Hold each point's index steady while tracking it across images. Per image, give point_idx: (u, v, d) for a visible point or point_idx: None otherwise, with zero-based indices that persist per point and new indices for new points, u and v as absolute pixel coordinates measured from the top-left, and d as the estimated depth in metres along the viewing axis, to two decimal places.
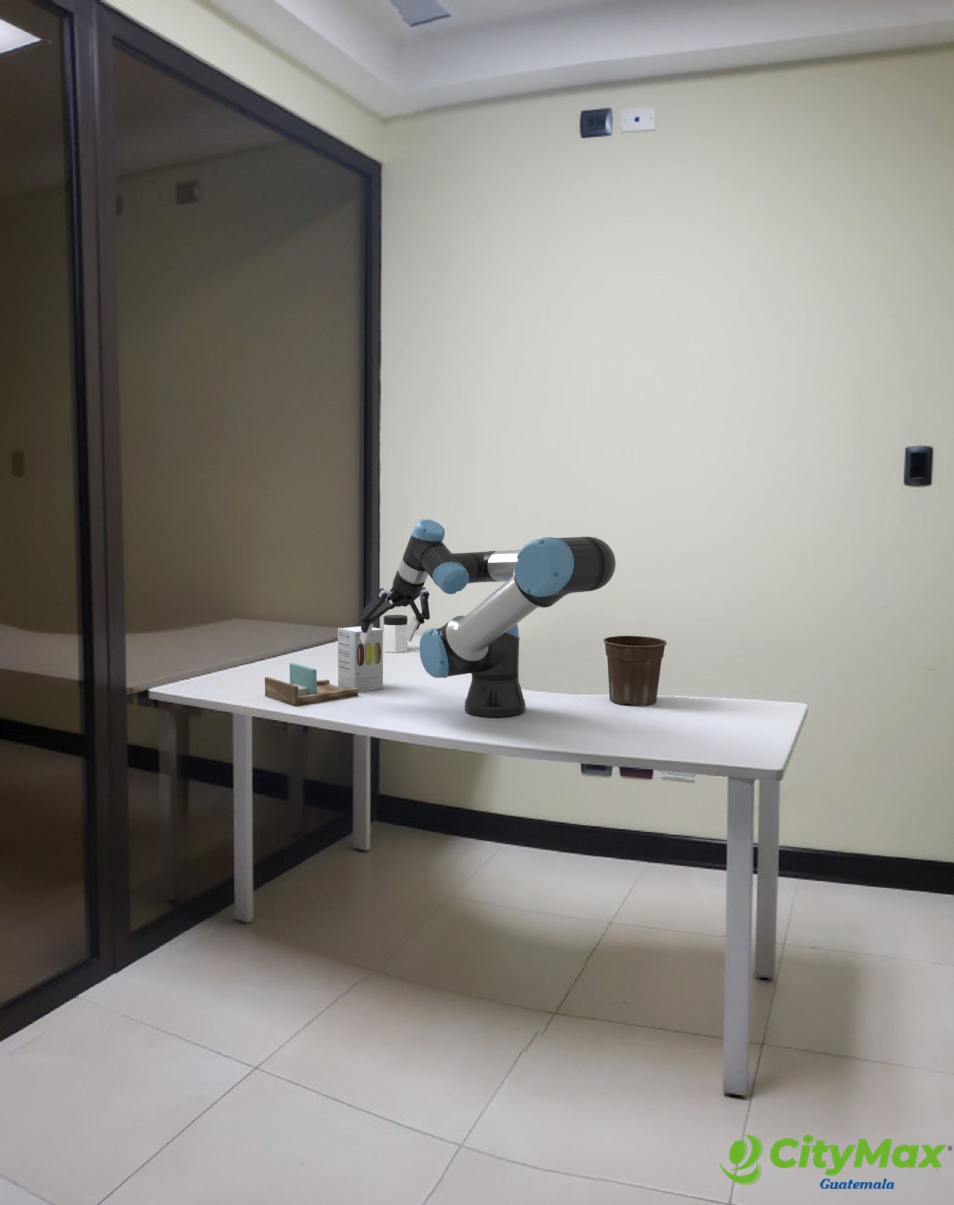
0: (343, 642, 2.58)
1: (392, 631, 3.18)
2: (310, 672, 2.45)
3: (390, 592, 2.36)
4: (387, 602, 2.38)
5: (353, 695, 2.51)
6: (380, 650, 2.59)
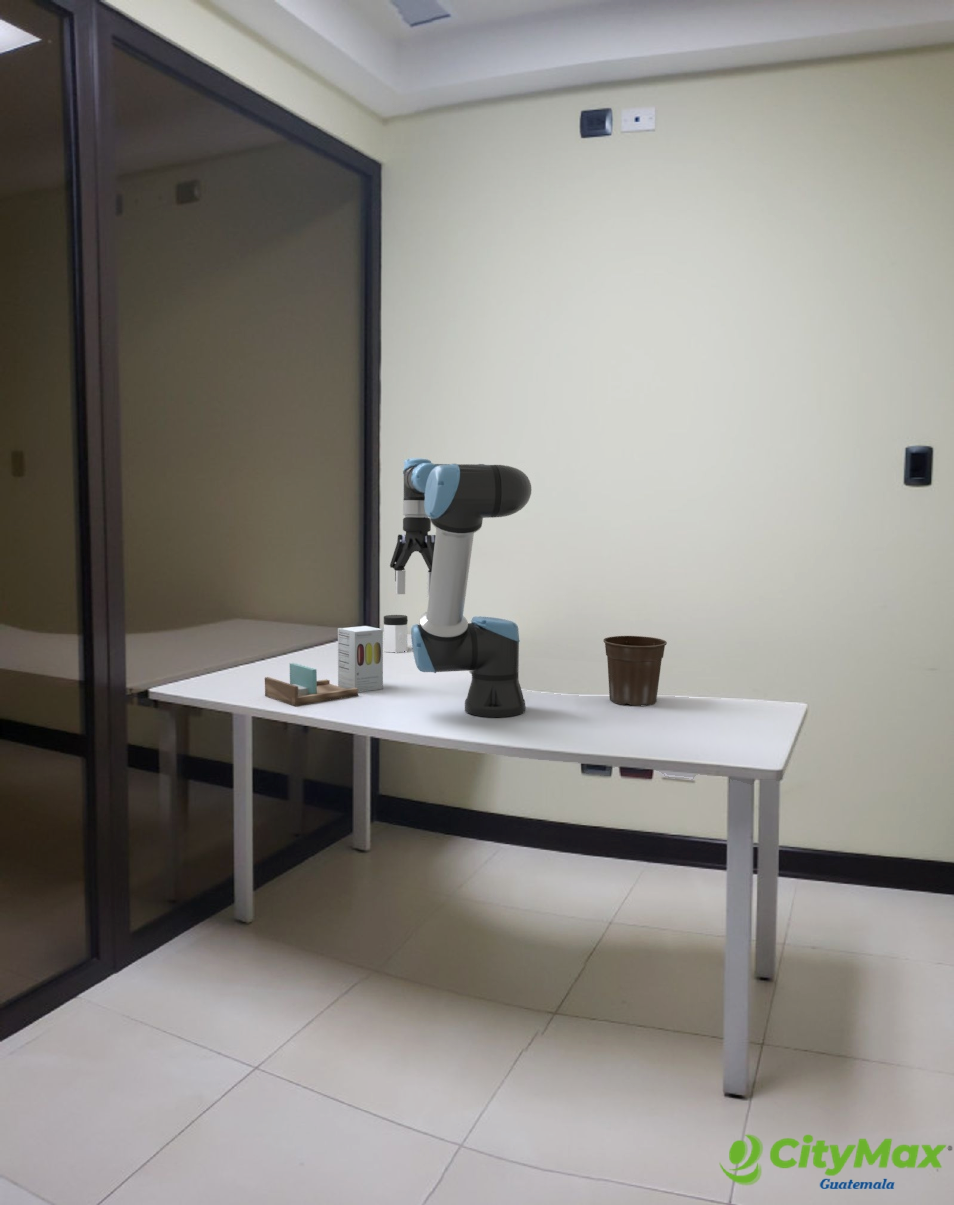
0: (343, 642, 2.58)
1: (392, 631, 3.18)
2: (310, 672, 2.45)
3: None
4: None
5: (353, 695, 2.51)
6: (380, 650, 2.59)
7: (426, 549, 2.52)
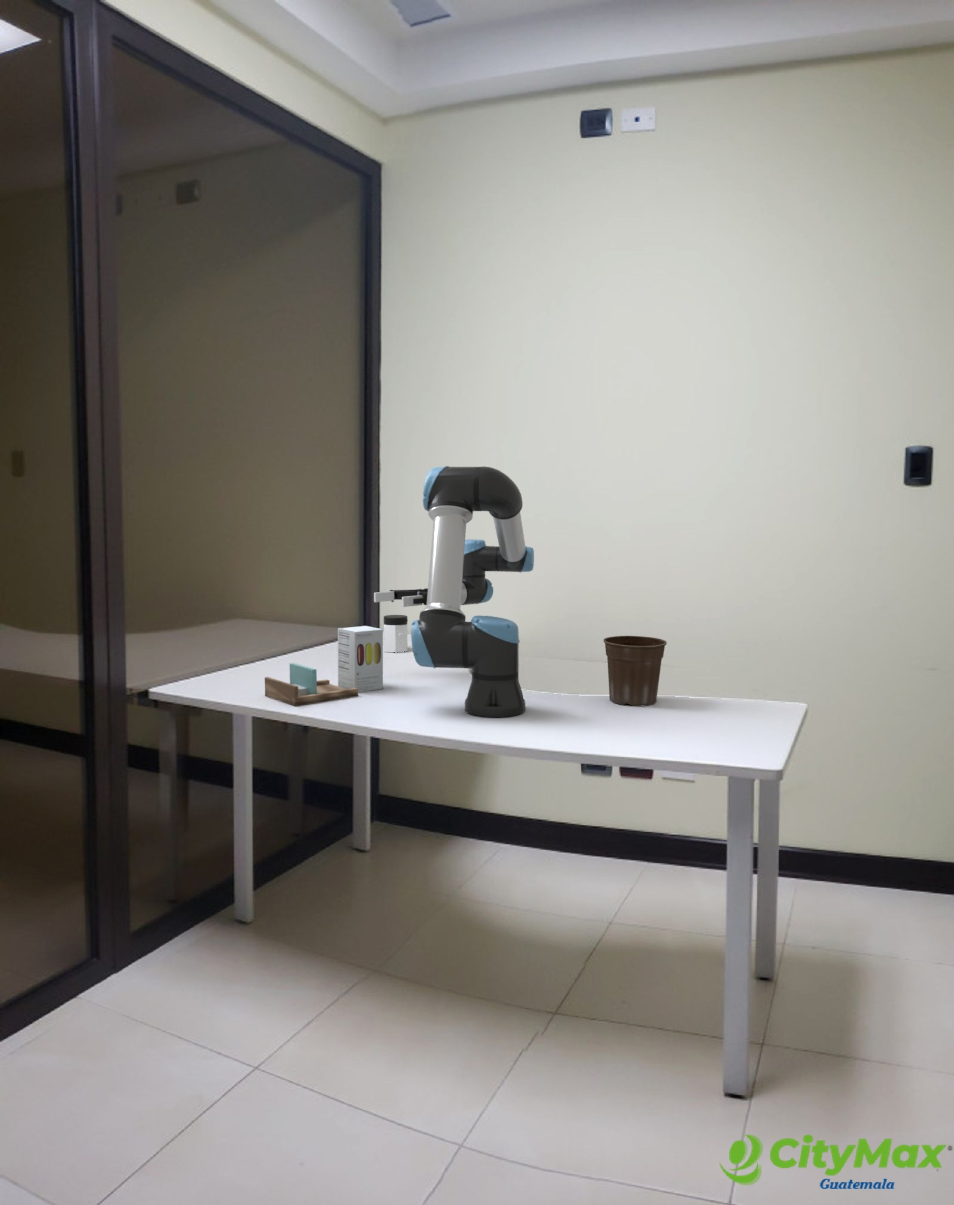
0: (343, 642, 2.58)
1: (392, 631, 3.18)
2: (310, 672, 2.45)
3: None
4: None
5: (353, 695, 2.51)
6: (380, 650, 2.59)
7: None
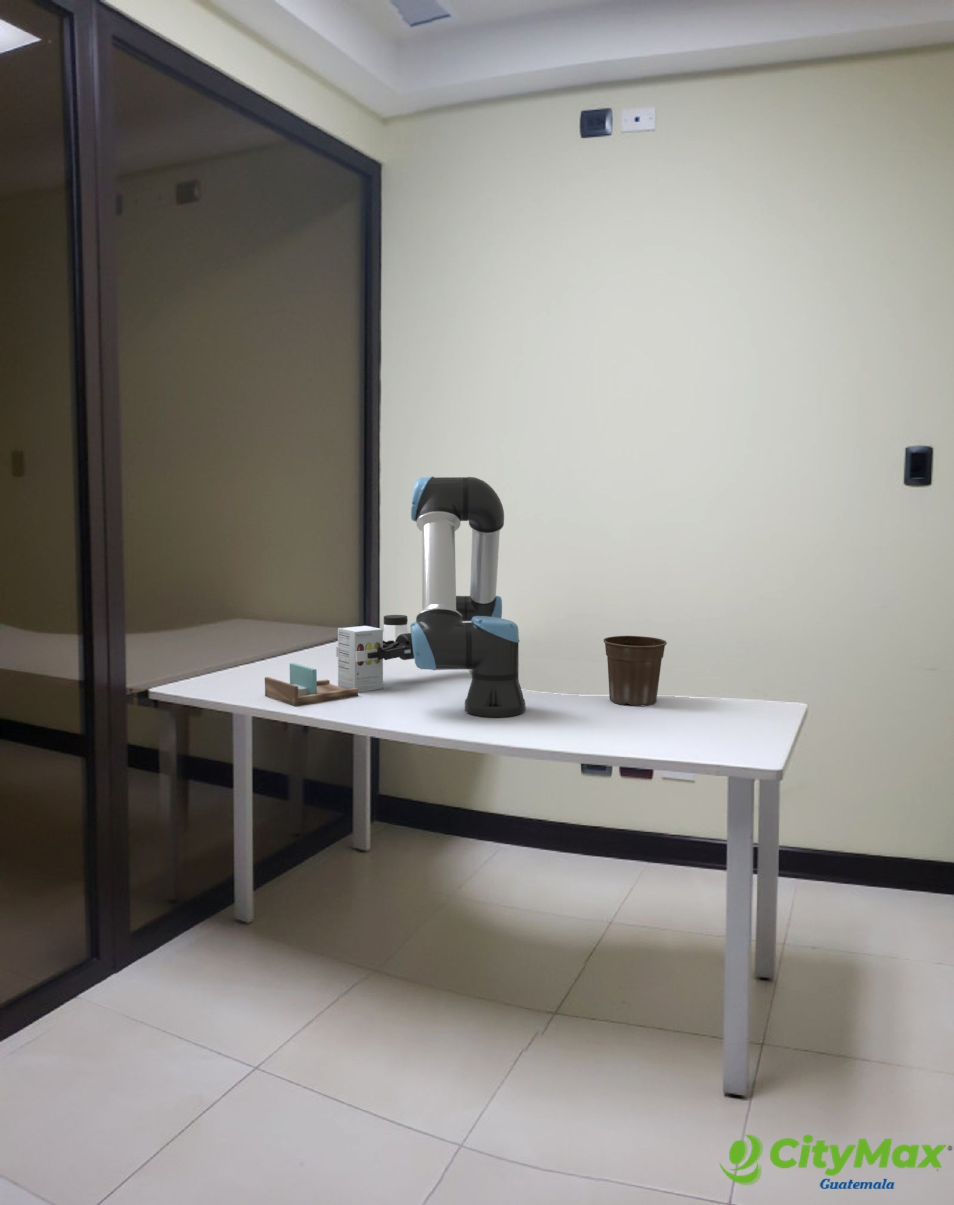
0: (343, 642, 2.58)
1: (392, 631, 3.18)
2: (310, 672, 2.45)
3: None
4: None
5: (353, 695, 2.51)
6: None
7: None
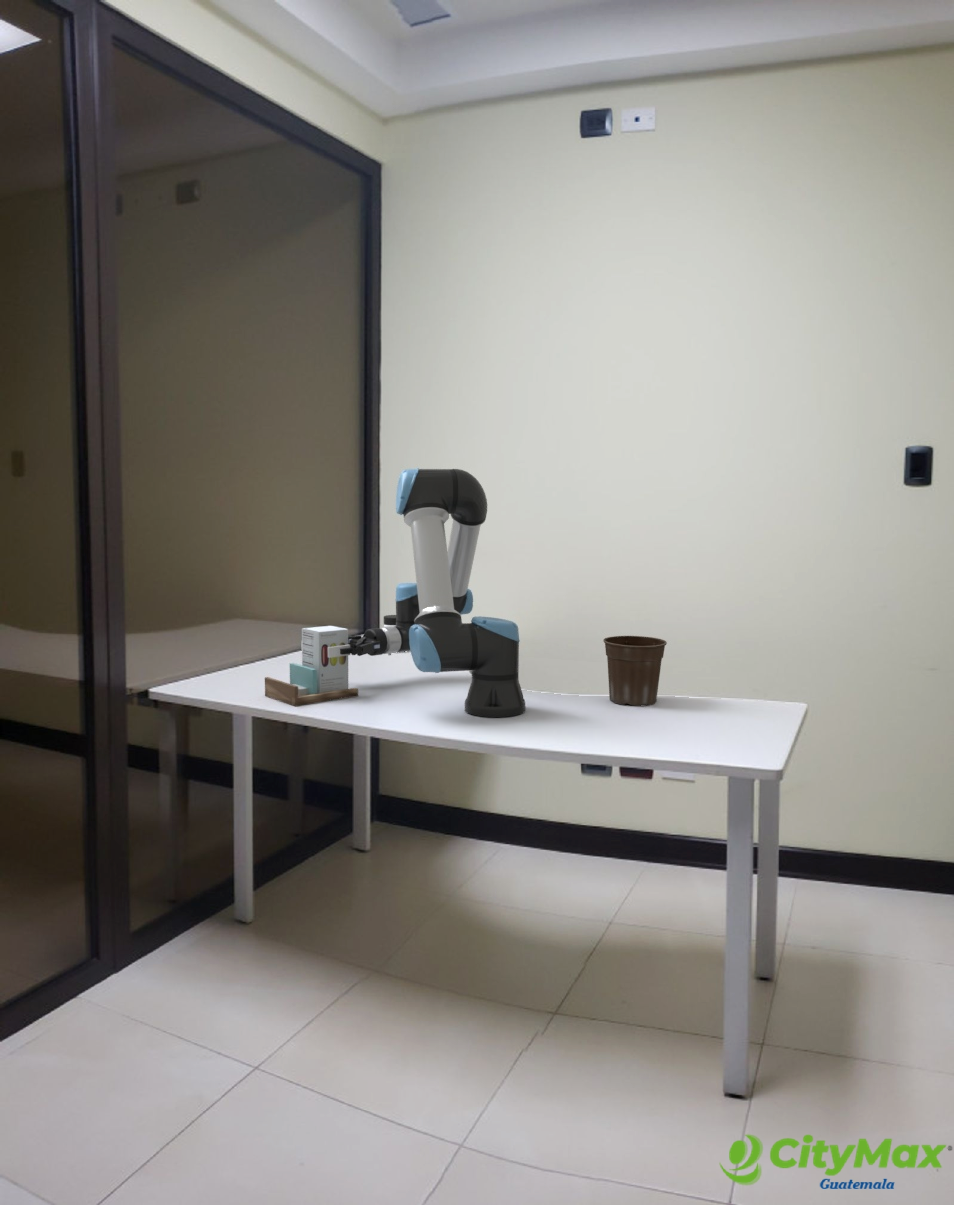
0: (307, 642, 2.51)
1: None
2: (310, 672, 2.45)
3: None
4: None
5: (353, 695, 2.51)
6: None
7: None
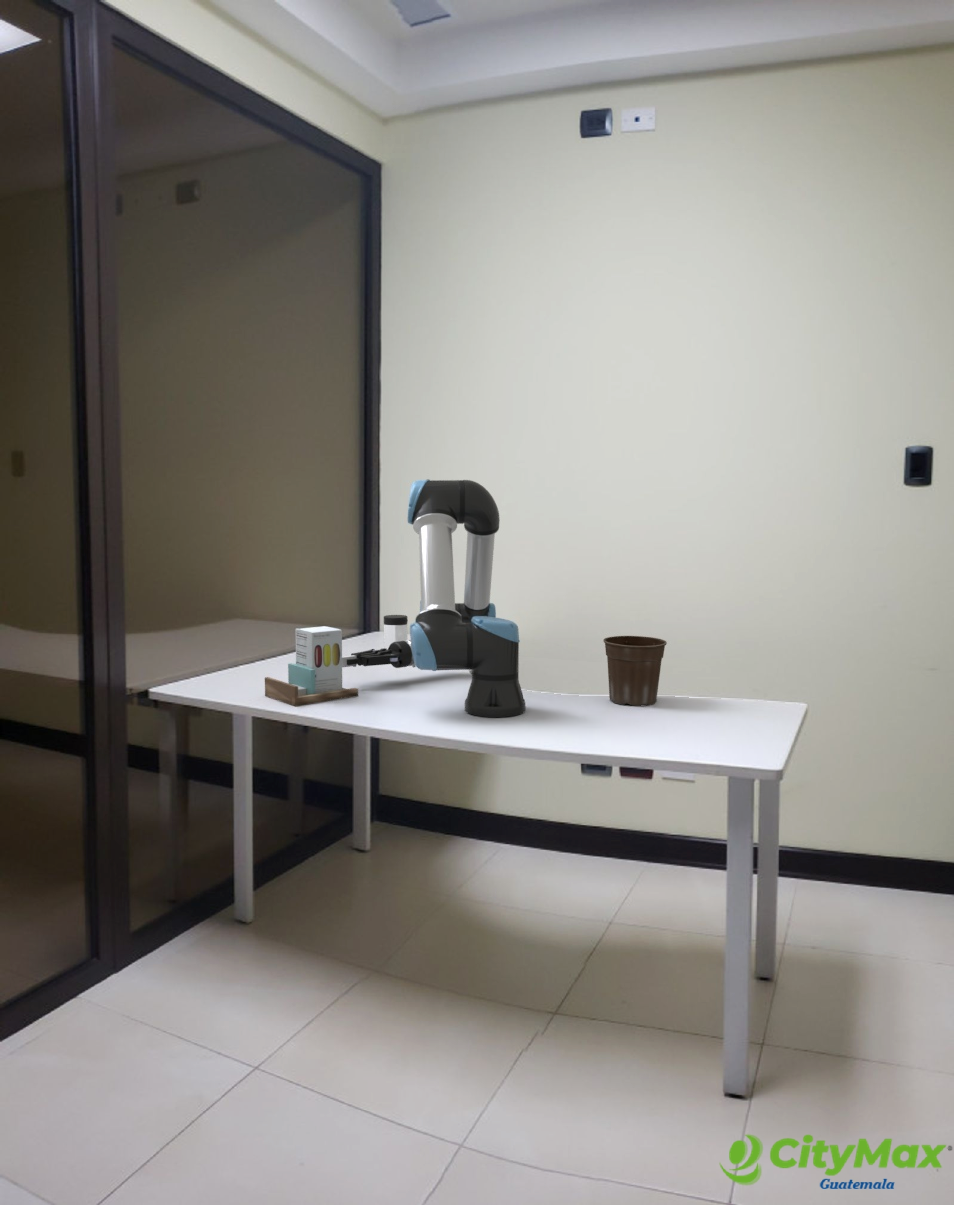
0: (300, 643, 2.50)
1: (392, 631, 3.18)
2: (309, 673, 2.45)
3: None
4: None
5: (353, 695, 2.51)
6: (339, 651, 2.51)
7: None
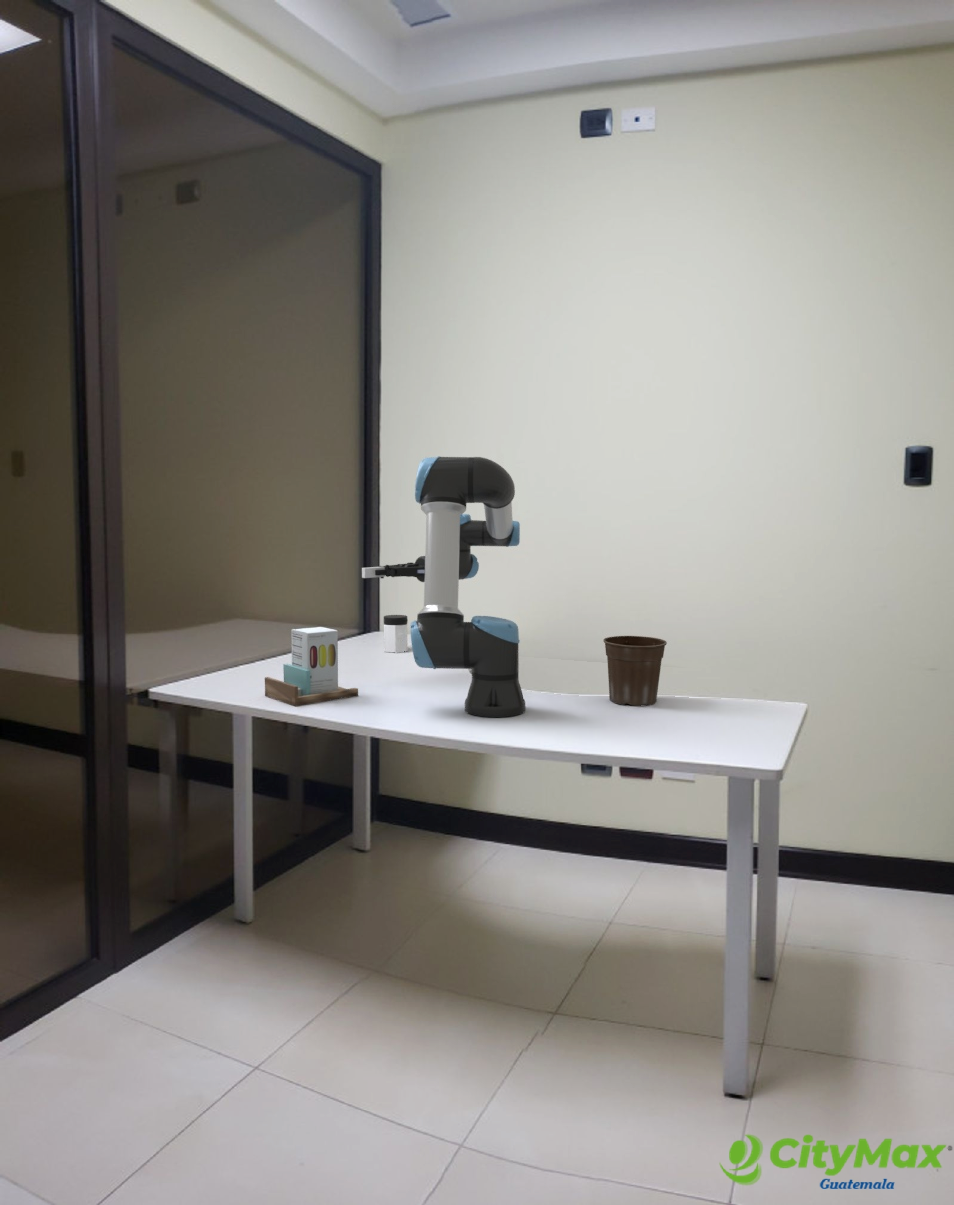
0: (296, 643, 2.49)
1: (392, 631, 3.18)
2: (304, 673, 2.44)
3: None
4: None
5: (353, 695, 2.51)
6: (335, 652, 2.50)
7: None
